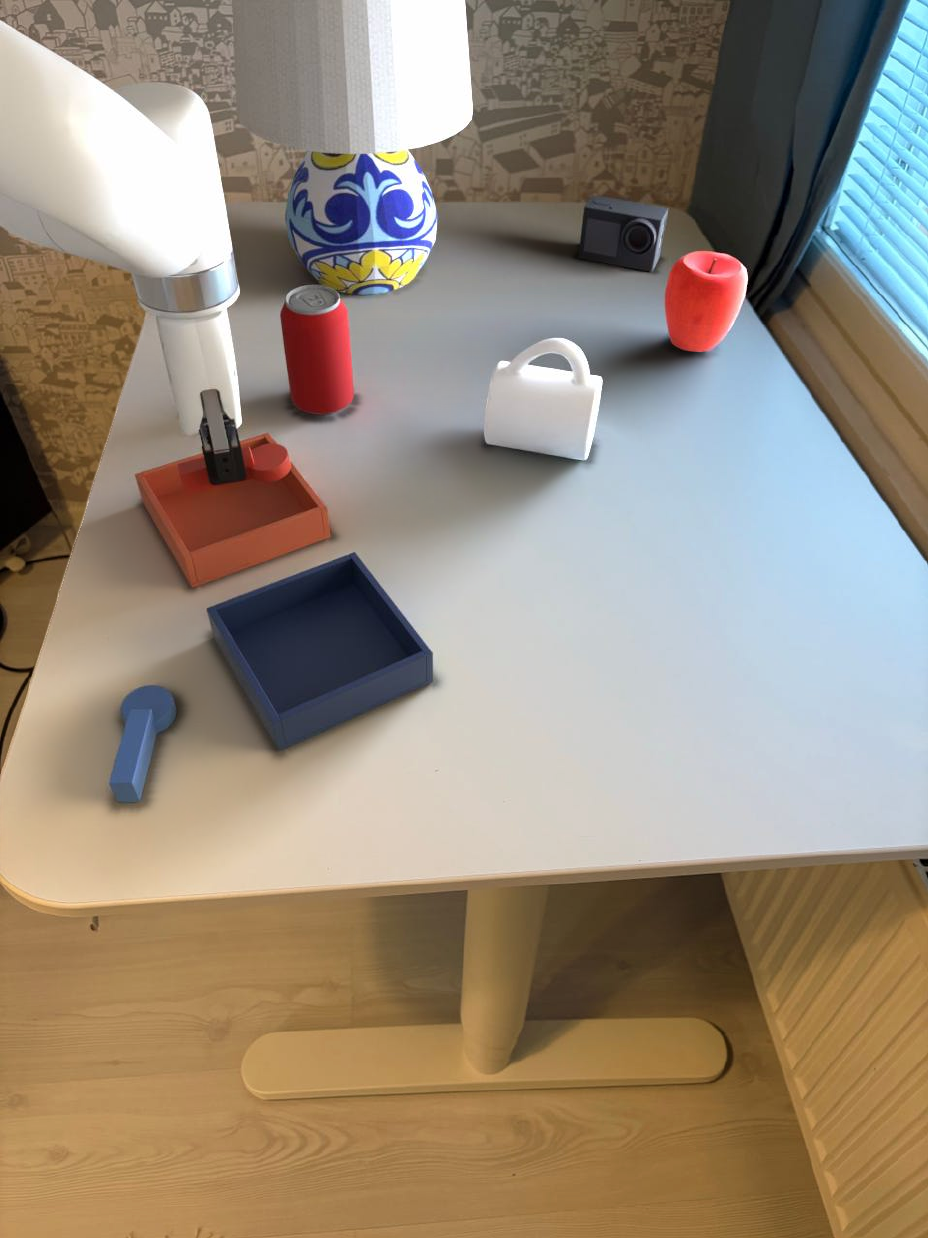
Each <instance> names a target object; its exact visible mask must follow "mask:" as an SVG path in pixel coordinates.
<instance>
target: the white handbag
mask: <svg viewBox="0 0 928 1238" xmlns="http://www.w3.org/2000/svg"><path fill="white" fill-rule="evenodd" d="M546 354H557V355H560V356H562V357H564V358H565V359H566V360H567V362H568V363H569V364H570V367H571V371H568V370H562V369H557V368H551V367H543V366H537V365H531V364H529V363H531V362H532V361H534V360H535V359H537V358H538V357H540V356H543V355H546ZM602 386H603V378H602V376H599V375H594V374H590V367H589V363H588V361H587V358H586V355H585V354H584V352H583V351H582V349H581V348H580V347H579V346H578V345H577V344H576V343H574V342H572V341H571V340H569V339H566V338H561V337H552V338H550V337H549V338H546V339H543V340H540V341H537V342H535V343H534V344H531V345H530V346H528V347H526V348H525V349H524V350H522V351H521V352H520V353H518V354H517V355H516V356H515V357H514V358H513V359H512V360H511V361H506V360H500V361H499V362H498V363H497V364H496V365H495V368H494V370H493V373H492V375H491V379H490V383H489V388H488V393H487V398H486V404H485V410H484V411H485V412H484V420H483V436H484V441H485V443H486V444H487V445H491V446H499V447H503V448H508V449H509V448H510V449H513V450H514V449H515V450H521V451H527V452H532V453H538V454H543V455H551V456H554V457H555V456H556V457H562V458H567V459H572V460H579V461H586V460H588V457H589V454H590V451H591V447H592V442H593V438H594V434H595V429H596V424H597V419H598V413H599V407H600V401H601V396H602V395H601V394H602Z"/></svg>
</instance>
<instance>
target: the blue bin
mask: <svg viewBox="0 0 928 1238" xmlns="http://www.w3.org/2000/svg"><path fill="white" fill-rule="evenodd" d="M205 610H206V613H207V617H208V621H209V623H210V627H211V628H210V629H211V632H212V637H213V639H214V641H215V642H216V644H217V646H218V647H219V649H220V651H221V653H222V655H223V656H224V658H225V660H226V661H227V663H228V665H229V666H230V668H231V670H232V673H234V676H235V677H236V679H237V680H238V682H239V684H240V686H241V688H242V689H243V691H244V693H245V695H246V696H247V698H248V700H249V702H250V703H251V705H252V706H253V708H254V711H255V713H256V714H257V716H258V717H259V719H260V721H261V722H262V724H263V727H264V728H265V729H266V732H267V733H268V736H269V737H270V738H271V740H272V741H273V743H274V745H275V747H276V749H277V750H278V752H281V751H284V750H286V749H288V748H290V747H293V746H295V745H297V744H300V743H301V742H304V741H306V740H309V739H310V738H312V737H315V736H317V735H319V734H322V733H324V732H326V731H328V730H330V729H332V728H334V727H336V726H339V725H341V724H343V723H346V722H348V721H350V720H352V719H354V718H356V717H358V716H361V715H362V714H365V713H367V712H369V711H372V710H374V709H376V708H378V707H381V706H383V705H384V704H386V703H389V702H391V701H393V700H396V699H398V698H400V697H402V696H404V695H406V694H409V693H411V692H413V691H416V690H418V689H420V688H422V687H424V686H427V685H428V684H431V683H433V682H434V652H433V650H432V649H431V648H430V647H429V646H428V645H427V643H426V642H425V641H424V639H423V638H422V637H421V635H420V634H419V633H418V632H417V630H416V629H415V628H414V626H413V625H412V624H411V623H410V621H409V620H408V619H407V618H406V616H405V615H404V614H403V612H402V611H401V609H400V608H399V607H398V606H397V604H396V603H395V602H394V600H393V599H392V597H390V596H389V594H388V593H387V591H386V590H385V589H384V588H383V586H382V585H381V584H380V583H379V581H378V580H377V579H376V578H375V576H374V574H372V572H371V571H370V569H369V568H368V567H367V566H366V564H365V563H364V562H363V561H362V559H361V558H360V557H359V555H358V554H357V553H356V552H355V551H353V552H350V553H348V554H345V555H342V556H340V557H337V558H334V559H331V560H329V561H327V562H324V563H322V564H319V565H315V566H313V567H311V568H308V569H307V570H303V571H301V572H298V573H295V574H293V575H290V576H287V577H285V578H281V579H279V580H276V581H274V582H271V583H269V584H267V585H264V586H261V587H259V588H255V589H253V590H251V591H248V592H246V593H242V594H240V595H238V596H234V597H232V598H230V599H227V600H224V601H222V602H219V603H216V604H214V605H210V606H208V607H206V609H205Z"/></svg>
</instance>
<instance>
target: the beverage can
mask: <svg viewBox="0 0 928 1238" xmlns="http://www.w3.org/2000/svg"><path fill="white" fill-rule="evenodd" d="M340 296H341V295H340V294H339V292H338V291H336V290H334V289H332V288H330V287H327V286H323V285H322V284H306V285H301V286H298V287H295V288H293V289H291V290H290V291H288V293H286V295H285V298H284V302H283V306H282V308H281V309H280V314H279V315H280V316H279V317H280V327H281V333H282V342H283V349H284V357H285V364H286V371H287V378H288V385H289V391H290V399H291V401H292V403H293V404H294V406H295V407H296V408H298V409H299V410H301V411H303V412H306V413H310V414H312V415H317V416H319V415H320V416H322V415H323V416H324V415H330V414H331V415H332V414H334V413H337V412H339V411H342V410H343V409H344V408H346V407H347V406H349V405H350V404H351V403H352V401H353V399H354V396H355V393H354V392H355V390H354V375H353V360H352V359H353V358H352V346H351V334H350V322H349V321H350V320H349V311H348V308H347V307H346V305H345V304H344V302H343V301H342V299H341V297H340Z"/></svg>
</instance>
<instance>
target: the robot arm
mask: <svg viewBox="0 0 928 1238" xmlns="http://www.w3.org/2000/svg"><path fill="white" fill-rule="evenodd" d="M213 130H214V129H213V126H212V121H211V116H210V112H209V109H208V107H207V105H206V104H205V102H204V100H203V98H201V97H200V96H199V94H197V93H196V92H195V91H193V90H192V89H190V88H188V87H186V86H183V85H178V84H175V83H170V82H162V81H145V82H144V81H143V82H135V83H129V84H125V85H121V86H119V87H116V88H113V89H112V88H111V87H109V86H108V85H106V84H104V83H103V82H102V81H100V80H99V79H97V78H96V77H94V76H92V74H90V73H88V72H87V71H85V70H83V69H81V68H80V67H78V66H77V65H75V64H74V63H72V62H71V61H69V60H68V59H66V58H64V57H62V56H61V55H59V54H57V53H56V52H54V51H53V50H51V49H49V48H47V47H46V46H44V45H42V44H40V43H39V42H37V41H36V40H34V39H32V38H31V37H28V36H27V35H26V34H24V33H22V32H20V31H19V30H17V29H15V28H14V27H12V26H10V25H9V24H8V23H5V22H4V21H2V20H1V19H0V227H2V228H3V229H4V230H5V231H7V232H8V233H10V234H12V235H13V236H15V237H16V238H19V239H21V240H23V241H26V242H28V243H30V244H33V245H36V246H40V247H43V248H46V249H48V250H49V249H50V250H53V251H56V252H59V253H63V254H67V255H70V256H73V257H78V258H83V259H85V260H88V261H92V262H94V263H99V264H102V265H106V266H109V267H112V268H115V269H117V270H121V271H125V272H126V273H127V272H128V273H130V276H131V279H132V283H133V287H134V291H135V295H136V299H137V303H138V305H139V307H140V308H141V309H143V311H145V312H146V313H148V314H150V315H152V316H154V317H155V320H156V326H157V332H158V336H159V341H160V346H161V350H162V354H163V359H164V364H165V368H166V371H167V375H168V379H169V384H170V387H171V393H172V396H173V400H174V405H175V409H176V413H177V417H178V420H179V426H180V427H179V428H180V431H181V433H182V434H183V435H184V436H186V437H191V436H193V435H194V436H195V435H198V434H199V438H200V442H201V450H202V453H203V455H204V459H205V464H206V468H207V472H208V477H209V481H210V484H211V485H221V484H227V483H233V482H239V481H244V480H246V478H247V475H246V470H245V465H244V460H243V455H242V450H241V444H240V441H241V440H240V436H239V431H238V428H240V427H241V425H242V423H243V421H242V410H241V409H242V408H241V399H240V388H239V379H238V372H237V364H236V356H235V351H234V344H233V338H232V332H231V326H230V320H229V315H228V308H229V307H231V305H233V304H234V303H235V302H236V301H237V300H238V298H239V296H240V291H241V290H240V285H239V277H238V274H237V267H236V261H235V255H234V250H233V245H232V244H233V243H232V238H231V232H230V227H229V226H230V225H229V220H228V214H227V207H226V202H225V201H226V200H225V195H224V190H223V185H222V178H221V173H220V172H221V171H220V166H219V160H218V154H217V148H216V143H215V136H214V131H213Z"/></svg>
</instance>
